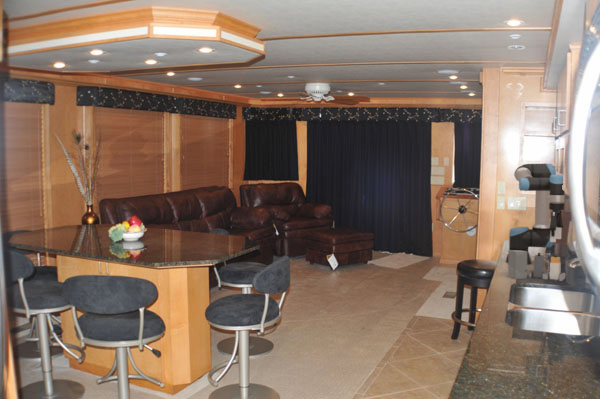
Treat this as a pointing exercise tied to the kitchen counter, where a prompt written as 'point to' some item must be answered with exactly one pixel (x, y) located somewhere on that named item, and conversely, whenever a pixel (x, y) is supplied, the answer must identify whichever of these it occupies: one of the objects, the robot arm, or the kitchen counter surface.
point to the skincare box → (517, 264)
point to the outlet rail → (547, 276)
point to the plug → (555, 267)
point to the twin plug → (538, 265)
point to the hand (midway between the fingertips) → (555, 240)
